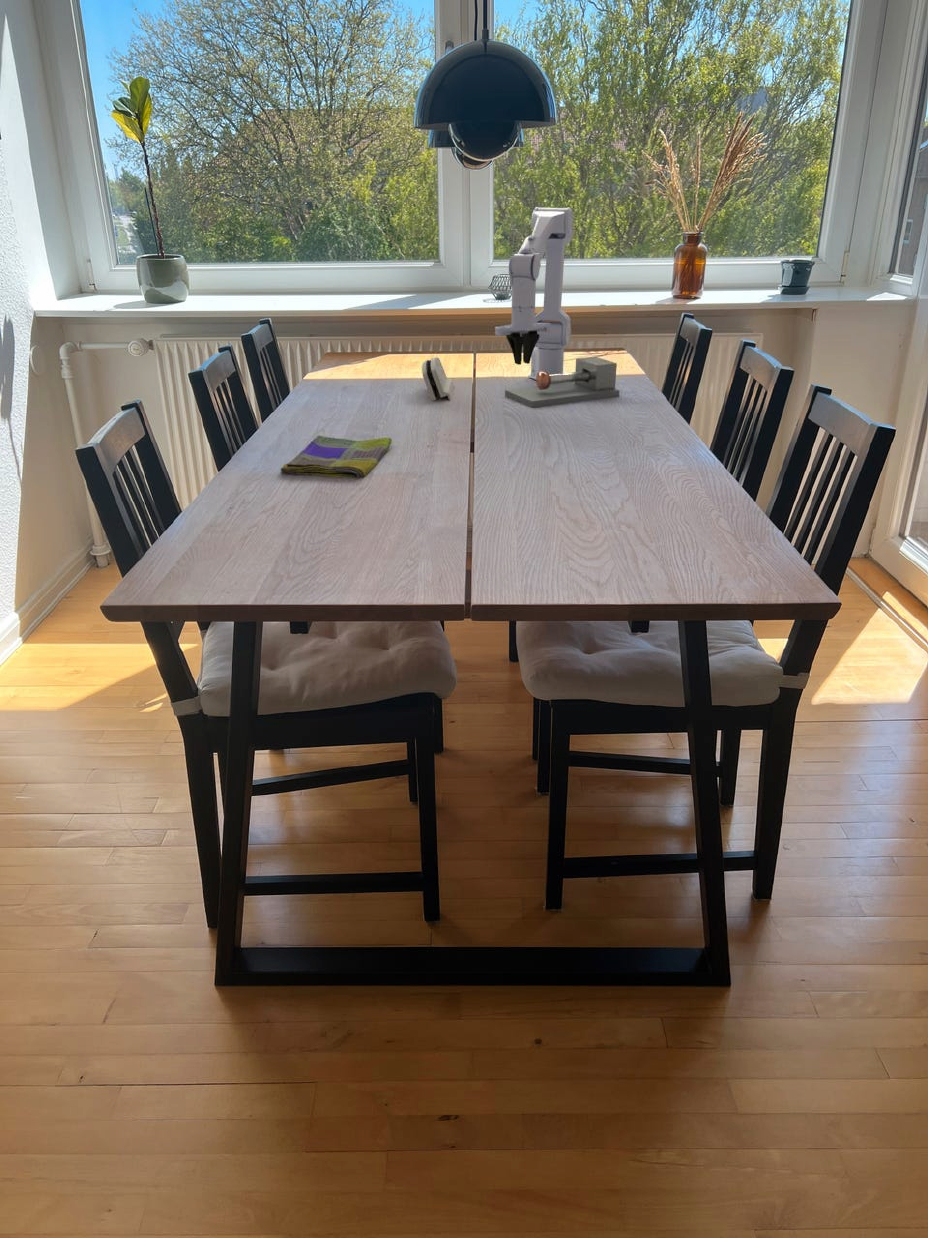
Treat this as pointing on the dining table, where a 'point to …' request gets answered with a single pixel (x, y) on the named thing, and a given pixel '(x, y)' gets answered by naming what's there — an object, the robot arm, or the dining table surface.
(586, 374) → the shaft
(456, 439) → the dining table surface
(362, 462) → the dish towel
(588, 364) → the bearing block
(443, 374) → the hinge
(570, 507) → the dining table surface
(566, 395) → the base plate
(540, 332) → the robot arm
